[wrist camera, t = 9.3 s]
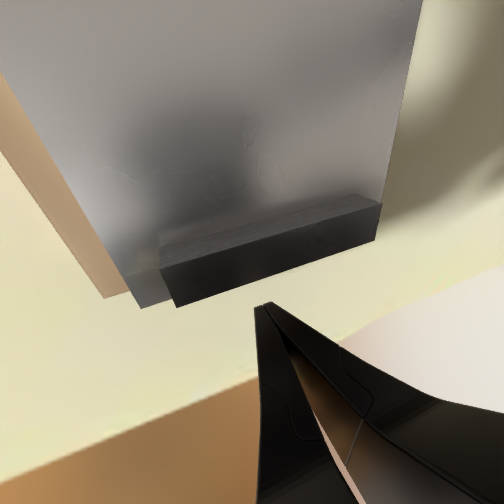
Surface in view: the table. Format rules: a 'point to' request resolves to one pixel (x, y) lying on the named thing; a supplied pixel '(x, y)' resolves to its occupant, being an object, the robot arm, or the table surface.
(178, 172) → the gray slider block
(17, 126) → the frame
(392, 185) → the table surface
